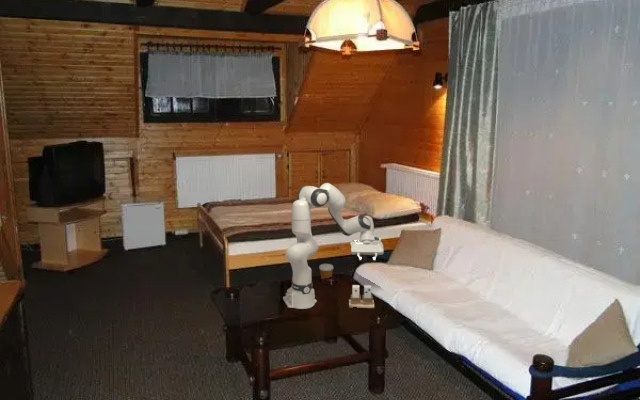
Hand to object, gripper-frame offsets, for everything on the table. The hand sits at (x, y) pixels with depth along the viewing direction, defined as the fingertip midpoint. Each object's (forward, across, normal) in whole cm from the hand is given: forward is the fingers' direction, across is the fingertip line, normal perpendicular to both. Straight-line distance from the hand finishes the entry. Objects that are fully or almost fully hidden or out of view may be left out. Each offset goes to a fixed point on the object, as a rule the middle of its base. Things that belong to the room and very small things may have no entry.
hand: (367, 260), depth 326 cm
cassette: (+6, -42, +28) cm, 51 cm away
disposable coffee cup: (0, -26, +34) cm, 42 cm away
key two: (+23, 0, +5) cm, 23 cm away
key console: (+25, -4, +8) cm, 27 cm away
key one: (+23, -7, +5) cm, 24 cm away
